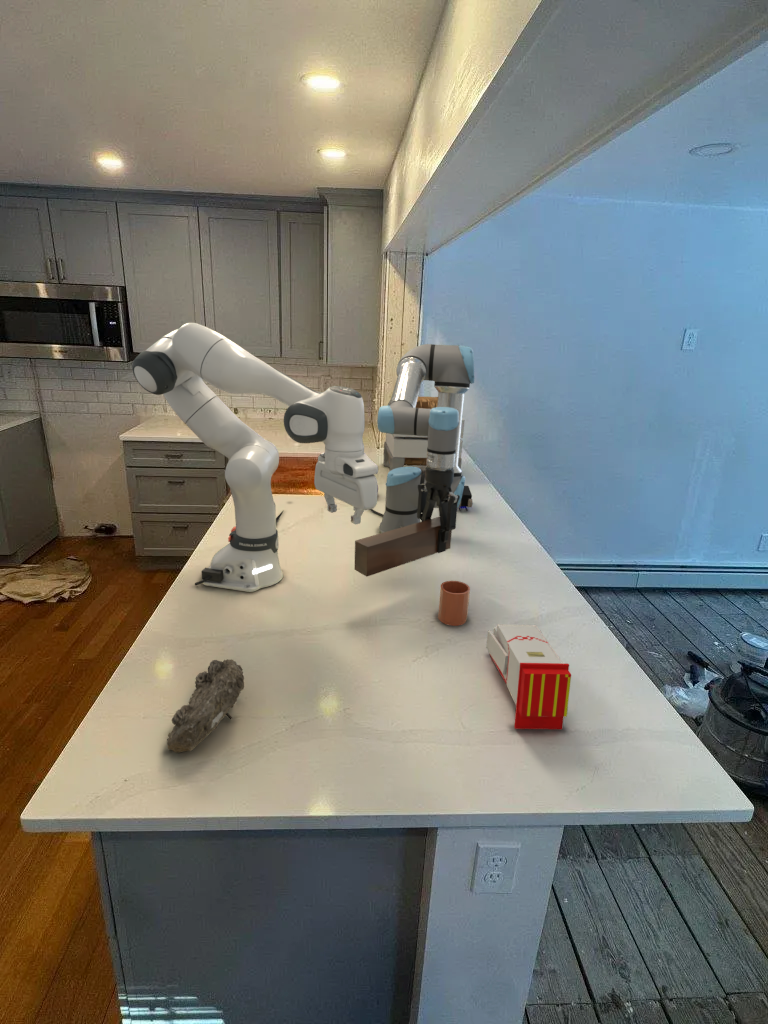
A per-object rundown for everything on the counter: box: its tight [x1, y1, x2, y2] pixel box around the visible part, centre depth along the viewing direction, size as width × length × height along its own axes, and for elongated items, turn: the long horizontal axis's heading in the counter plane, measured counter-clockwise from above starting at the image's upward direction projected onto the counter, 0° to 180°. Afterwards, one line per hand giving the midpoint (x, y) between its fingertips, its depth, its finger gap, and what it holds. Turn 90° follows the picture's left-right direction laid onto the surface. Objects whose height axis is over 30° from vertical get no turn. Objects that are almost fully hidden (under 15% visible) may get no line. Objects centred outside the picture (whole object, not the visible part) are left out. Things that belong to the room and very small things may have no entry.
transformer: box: [383, 396, 465, 472], centre depth 268 cm, size 34×33×41 cm
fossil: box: [166, 658, 245, 754], centre depth 106 cm, size 22×10×15 cm
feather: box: [276, 509, 284, 524], centre depth 213 cm, size 2×28×2 cm
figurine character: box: [457, 485, 473, 512], centre depth 229 cm, size 7×8×15 cm
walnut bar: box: [353, 516, 453, 578], centre depth 149 cm, size 5×30×8 cm, turn 131°
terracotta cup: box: [437, 580, 471, 627], centre depth 145 cm, size 7×7×9 cm
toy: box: [485, 623, 572, 730], centre depth 120 cm, size 12×13×30 cm
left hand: (343, 517), depth 133 cm, fingers open, 8 cm apart
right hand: (433, 547), depth 157 cm, fingers closed on walnut bar, 5 cm apart
